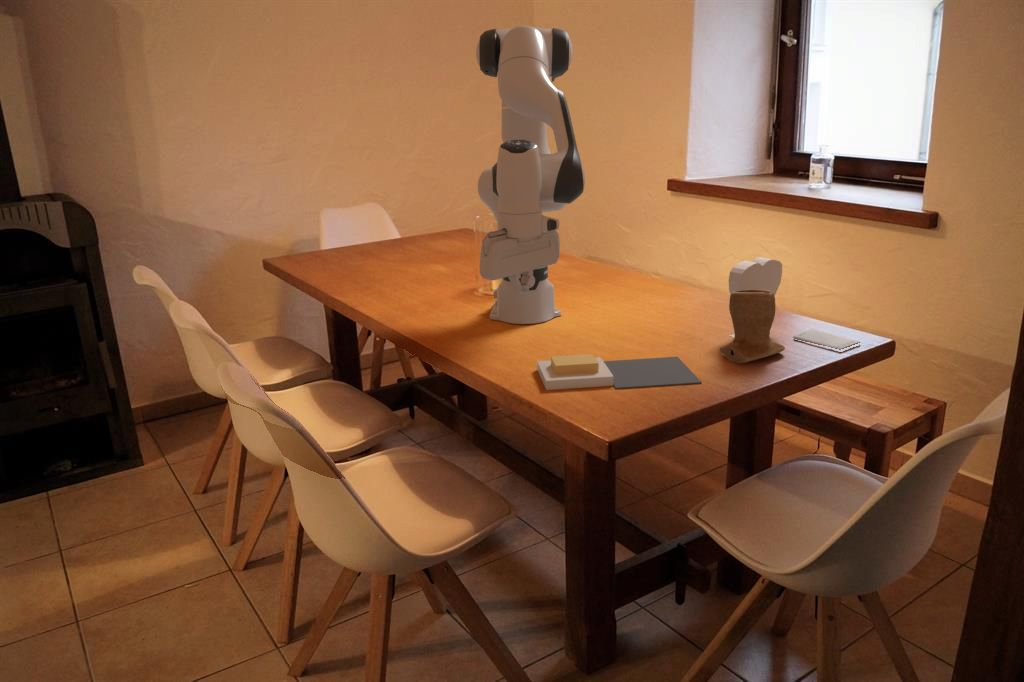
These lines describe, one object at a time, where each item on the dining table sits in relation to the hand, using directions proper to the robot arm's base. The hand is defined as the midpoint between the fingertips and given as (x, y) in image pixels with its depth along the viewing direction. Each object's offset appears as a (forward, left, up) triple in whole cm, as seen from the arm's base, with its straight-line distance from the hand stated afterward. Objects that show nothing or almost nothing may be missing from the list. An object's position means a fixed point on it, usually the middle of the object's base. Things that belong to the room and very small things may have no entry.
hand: (521, 293), depth 170 cm
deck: (0, +11, -19) cm, 22 cm away
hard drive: (-12, +73, -20) cm, 77 cm away
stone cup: (-7, +52, -19) cm, 56 cm away
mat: (0, +27, -19) cm, 33 cm away
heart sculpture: (-22, +59, -19) cm, 66 cm away
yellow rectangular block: (0, +11, -17) cm, 20 cm away
